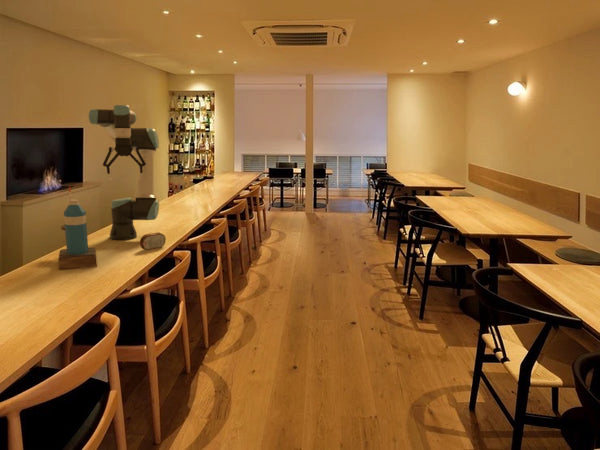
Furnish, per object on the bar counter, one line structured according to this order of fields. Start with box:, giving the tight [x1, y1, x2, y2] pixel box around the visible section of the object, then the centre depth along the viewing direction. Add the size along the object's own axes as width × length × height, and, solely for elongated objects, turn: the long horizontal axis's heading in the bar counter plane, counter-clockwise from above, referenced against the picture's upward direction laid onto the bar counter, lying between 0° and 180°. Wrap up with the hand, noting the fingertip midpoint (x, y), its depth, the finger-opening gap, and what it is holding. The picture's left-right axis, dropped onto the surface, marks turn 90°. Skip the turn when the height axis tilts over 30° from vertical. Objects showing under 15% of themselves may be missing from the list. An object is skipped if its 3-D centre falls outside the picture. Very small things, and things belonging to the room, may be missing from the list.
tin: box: [139, 232, 166, 251], centre depth 265 cm, size 15×3×8 cm, turn 141°
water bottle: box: [63, 199, 89, 254], centre depth 230 cm, size 9×9×25 cm
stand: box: [57, 246, 98, 271], centre depth 233 cm, size 16×16×6 cm
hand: (125, 180), depth 245 cm, fingers open, 13 cm apart
